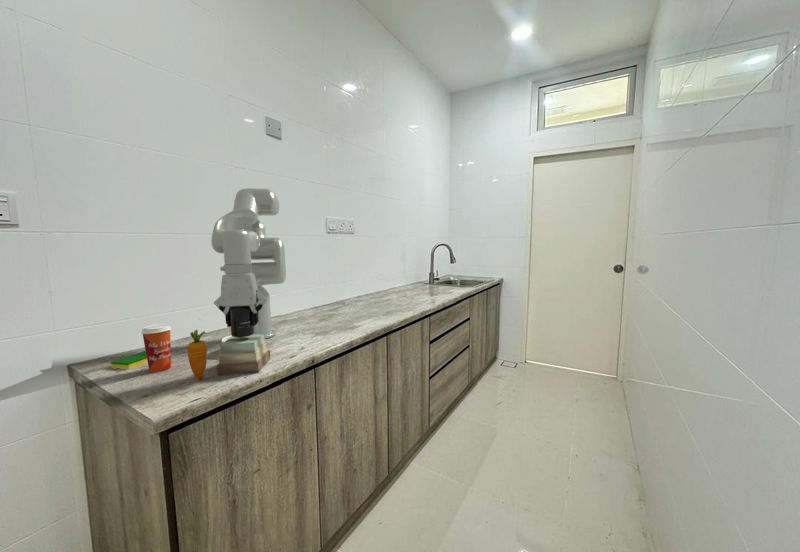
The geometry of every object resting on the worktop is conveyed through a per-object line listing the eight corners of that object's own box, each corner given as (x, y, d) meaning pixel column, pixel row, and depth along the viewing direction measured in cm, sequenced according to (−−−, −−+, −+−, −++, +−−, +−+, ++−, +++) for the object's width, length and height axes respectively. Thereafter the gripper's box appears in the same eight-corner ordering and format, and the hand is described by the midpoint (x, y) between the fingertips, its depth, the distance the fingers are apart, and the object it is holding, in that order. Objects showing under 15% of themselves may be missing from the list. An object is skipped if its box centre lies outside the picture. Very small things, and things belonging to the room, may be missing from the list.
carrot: (195, 376, 97) (191, 327, 96) (212, 375, 97) (208, 326, 96) (186, 383, 92) (181, 332, 91) (204, 382, 92) (200, 331, 91)
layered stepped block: (233, 360, 110) (231, 334, 109) (270, 358, 111) (268, 333, 110) (217, 374, 98) (215, 345, 97) (258, 372, 99) (256, 343, 98)
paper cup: (151, 375, 99) (147, 330, 97) (140, 370, 103) (136, 327, 101) (179, 367, 105) (175, 324, 104) (168, 362, 109) (164, 322, 108)
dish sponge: (110, 369, 106) (110, 362, 106) (151, 355, 119) (150, 348, 119) (128, 370, 104) (127, 363, 104) (167, 356, 118) (166, 349, 118)
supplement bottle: (245, 338, 100) (242, 299, 98) (226, 337, 101) (223, 299, 100) (259, 332, 106) (257, 296, 105) (241, 331, 108) (238, 295, 106)
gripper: (203, 271, 97) (208, 329, 99) (263, 269, 99) (267, 327, 101) (215, 269, 105) (219, 323, 106) (270, 268, 106) (274, 321, 108)
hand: (242, 325), depth 103 cm, fingers closed on supplement bottle, 6 cm apart
